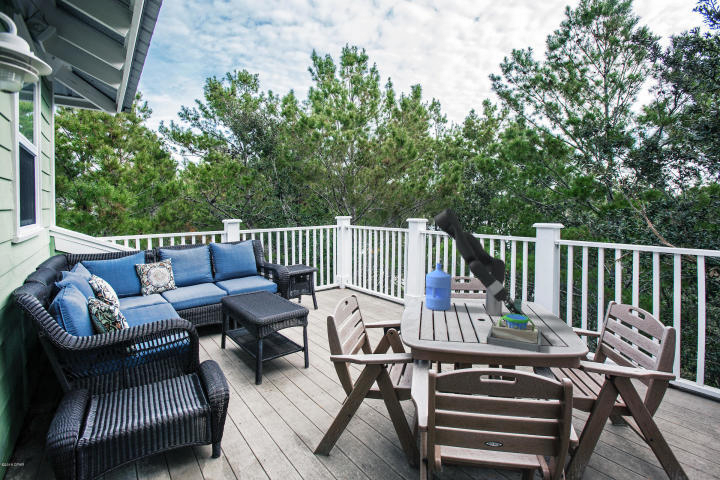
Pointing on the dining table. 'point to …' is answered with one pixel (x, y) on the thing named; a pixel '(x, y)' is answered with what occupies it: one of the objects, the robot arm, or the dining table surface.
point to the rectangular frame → (513, 342)
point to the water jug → (438, 290)
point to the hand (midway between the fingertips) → (521, 316)
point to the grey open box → (515, 330)
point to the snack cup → (516, 321)
